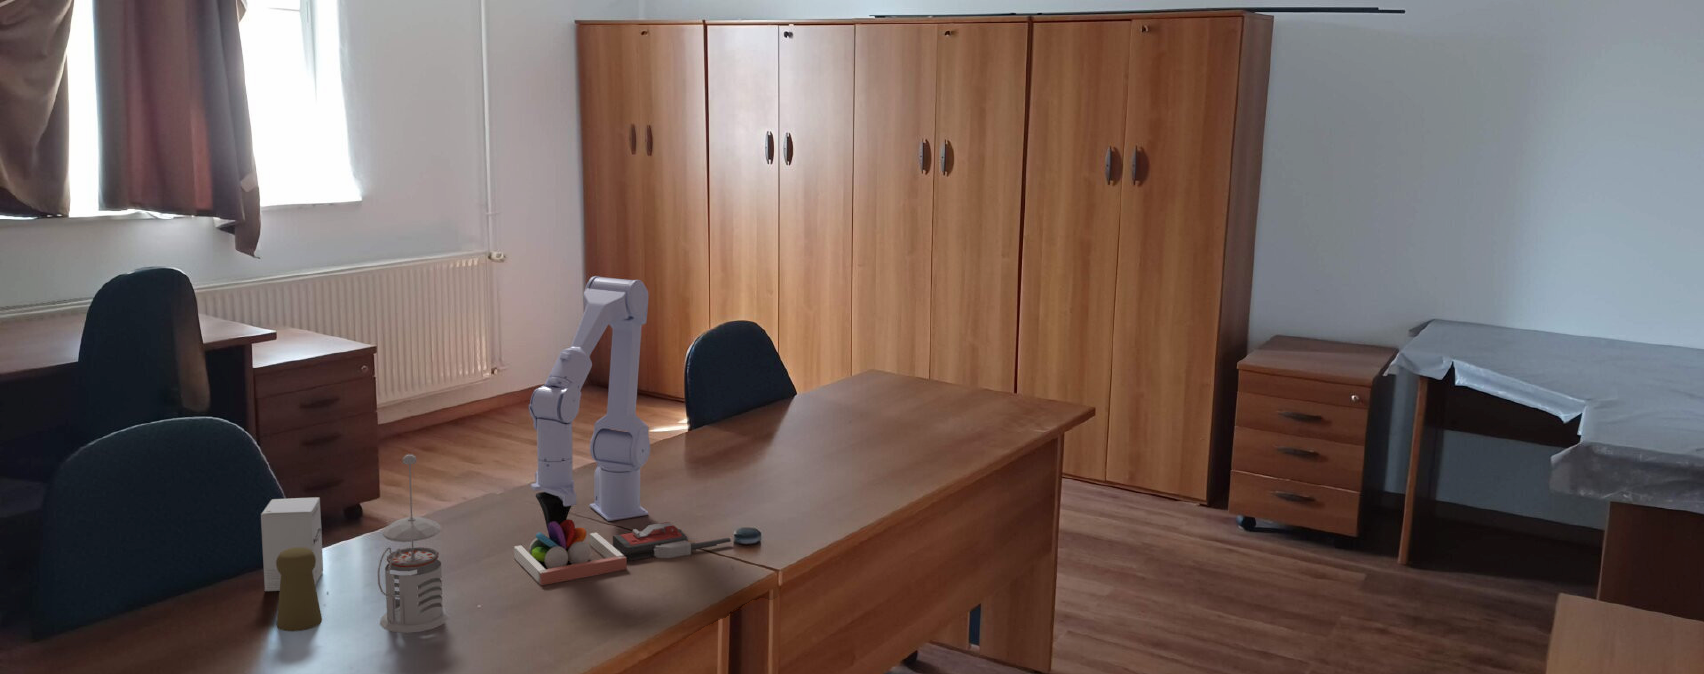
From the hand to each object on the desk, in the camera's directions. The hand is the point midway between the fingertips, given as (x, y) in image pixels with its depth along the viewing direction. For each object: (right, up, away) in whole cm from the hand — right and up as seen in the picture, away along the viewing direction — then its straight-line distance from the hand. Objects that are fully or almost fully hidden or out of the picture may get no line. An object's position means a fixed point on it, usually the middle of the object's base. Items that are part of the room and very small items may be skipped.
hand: (555, 534), depth 210 cm
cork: (-30, -8, -30) cm, 43 cm away
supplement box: (-37, -5, -16) cm, 41 cm away
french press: (-14, -8, -28) cm, 33 cm away
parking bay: (+3, -4, -4) cm, 7 cm away
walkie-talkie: (+19, -4, +3) cm, 19 cm away
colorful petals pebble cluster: (+2, -4, -4) cm, 6 cm away
